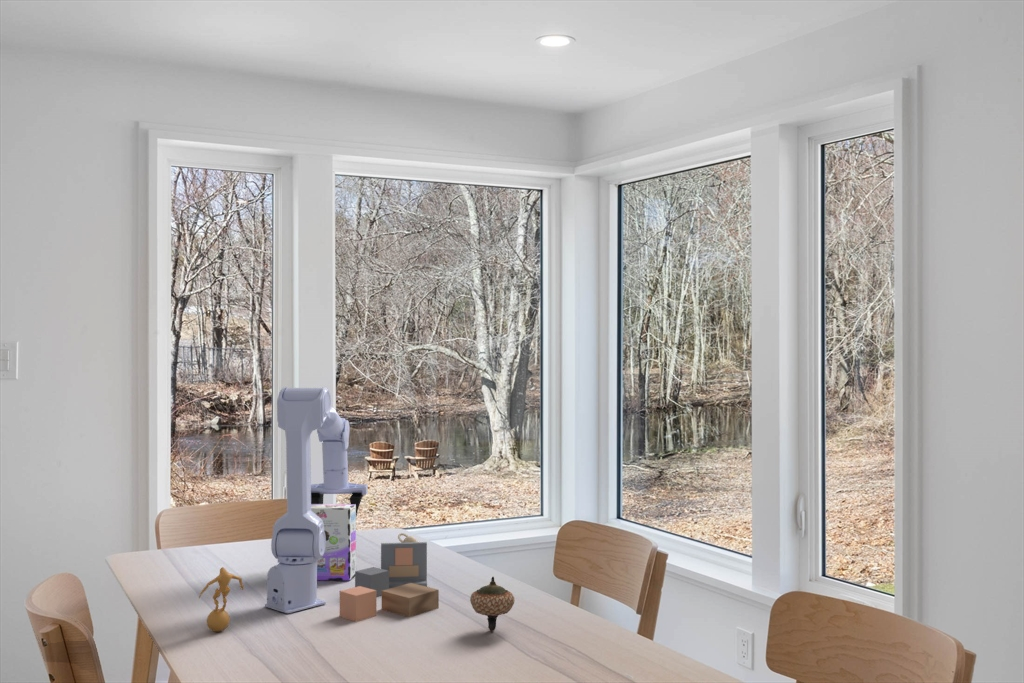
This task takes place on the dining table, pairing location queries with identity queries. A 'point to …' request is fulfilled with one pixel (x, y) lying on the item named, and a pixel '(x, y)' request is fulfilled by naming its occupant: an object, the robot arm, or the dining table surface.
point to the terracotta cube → (358, 603)
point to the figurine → (218, 616)
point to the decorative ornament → (407, 539)
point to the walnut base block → (410, 599)
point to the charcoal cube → (373, 579)
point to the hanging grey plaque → (405, 563)
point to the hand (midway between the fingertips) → (337, 523)
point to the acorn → (492, 602)
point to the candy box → (337, 541)
